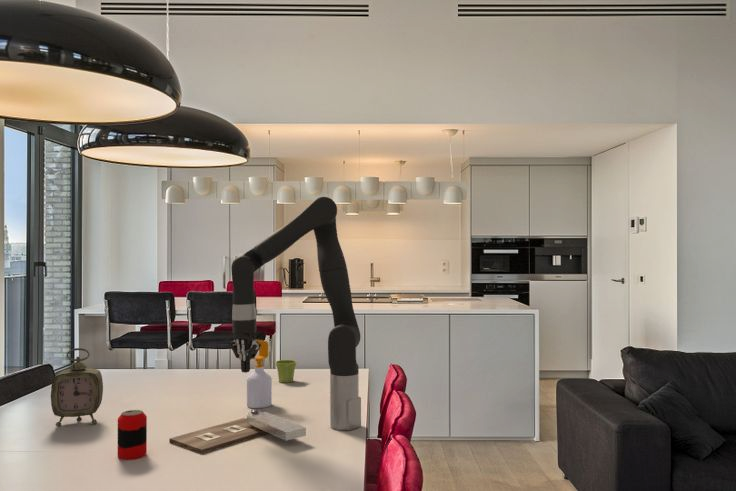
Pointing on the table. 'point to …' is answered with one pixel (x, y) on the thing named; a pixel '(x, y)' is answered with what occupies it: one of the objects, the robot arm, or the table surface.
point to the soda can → (132, 435)
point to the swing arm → (275, 425)
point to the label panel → (217, 436)
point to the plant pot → (286, 370)
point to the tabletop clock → (76, 391)
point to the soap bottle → (259, 381)
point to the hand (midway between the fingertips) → (245, 371)
